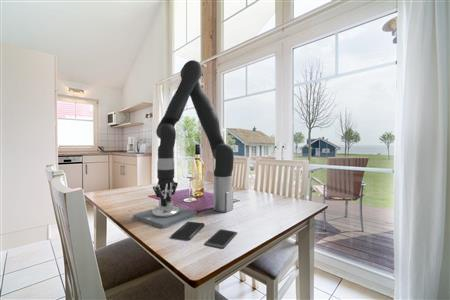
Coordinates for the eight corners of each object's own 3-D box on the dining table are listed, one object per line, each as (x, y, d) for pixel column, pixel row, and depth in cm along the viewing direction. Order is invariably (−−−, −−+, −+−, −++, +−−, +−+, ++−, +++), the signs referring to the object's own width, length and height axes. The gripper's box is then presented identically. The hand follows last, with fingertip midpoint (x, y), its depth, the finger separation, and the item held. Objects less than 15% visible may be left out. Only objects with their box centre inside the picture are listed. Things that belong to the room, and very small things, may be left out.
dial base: (196, 214, 103) (196, 211, 103) (163, 228, 86) (163, 224, 86) (167, 207, 114) (167, 204, 114) (133, 218, 97) (133, 214, 97)
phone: (205, 223, 90) (189, 238, 76) (205, 226, 90) (189, 241, 76) (187, 221, 92) (169, 235, 78) (187, 224, 92) (169, 238, 78)
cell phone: (203, 246, 73) (203, 243, 73) (220, 230, 86) (220, 228, 86) (223, 250, 70) (223, 248, 70) (237, 233, 83) (237, 231, 83)
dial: (184, 211, 102) (184, 200, 101) (164, 219, 92) (164, 206, 91) (162, 206, 110) (162, 195, 110) (141, 212, 100) (141, 200, 100)
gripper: (159, 170, 91) (160, 211, 92) (182, 167, 103) (182, 203, 104) (147, 169, 95) (148, 208, 96) (170, 166, 107) (171, 201, 108)
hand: (165, 205), depth 100 cm, fingers closed on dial, 2 cm apart
